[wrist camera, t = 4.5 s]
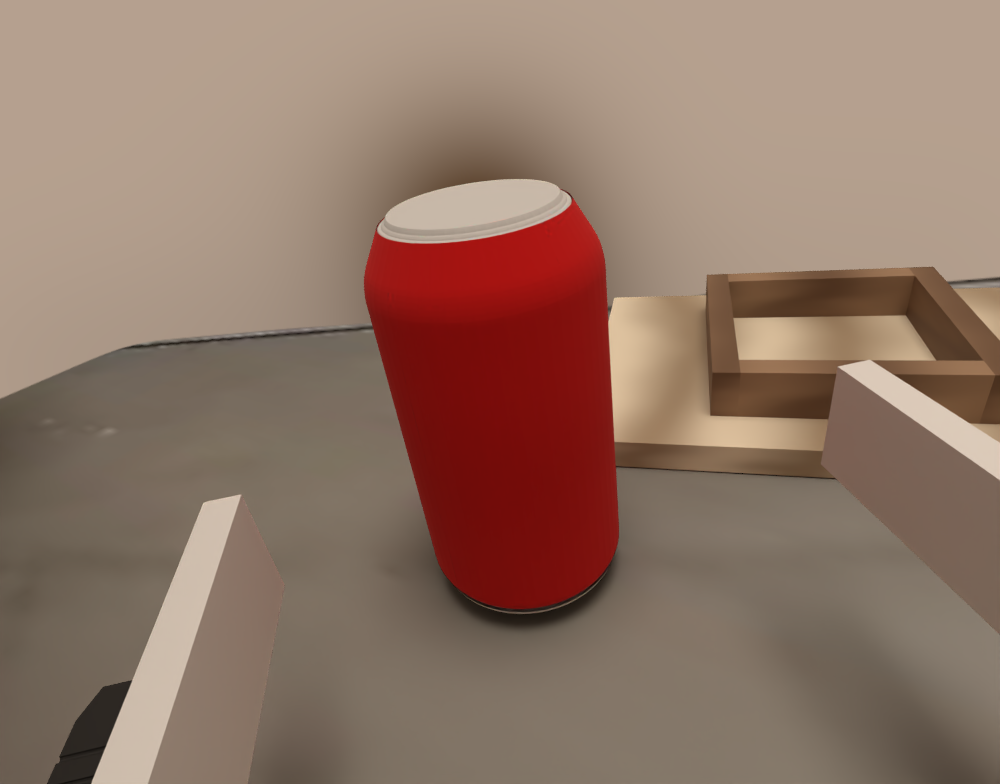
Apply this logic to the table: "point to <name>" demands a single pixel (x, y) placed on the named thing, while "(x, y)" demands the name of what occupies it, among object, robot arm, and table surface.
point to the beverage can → (502, 385)
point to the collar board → (789, 363)
